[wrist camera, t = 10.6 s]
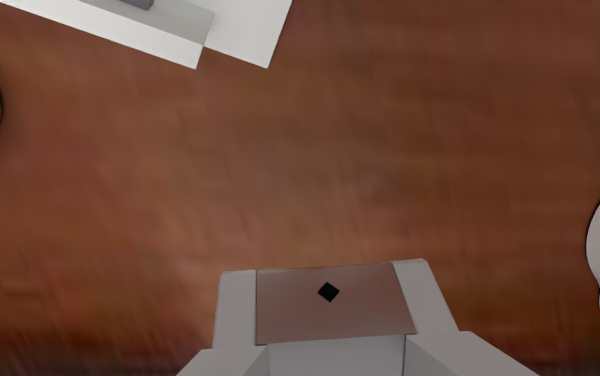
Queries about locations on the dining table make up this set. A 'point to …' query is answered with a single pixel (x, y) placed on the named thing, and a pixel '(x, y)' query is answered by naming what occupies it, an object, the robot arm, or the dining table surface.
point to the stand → (175, 25)
